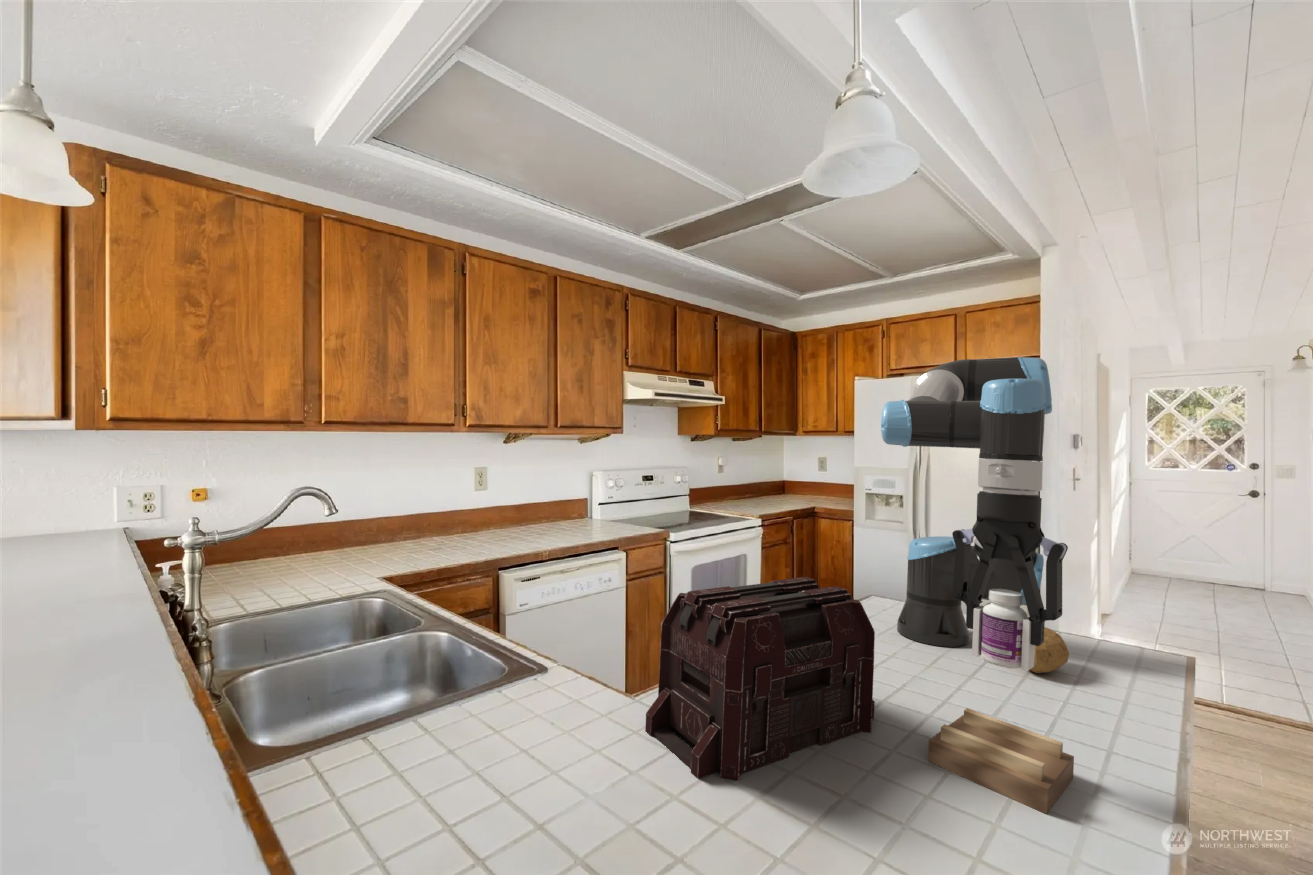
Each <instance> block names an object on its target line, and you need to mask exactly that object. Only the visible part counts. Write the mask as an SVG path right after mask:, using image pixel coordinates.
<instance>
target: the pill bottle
mask: <svg viewBox="0 0 1313 875" xmlns="http://www.w3.org/2000/svg"><path fill="white" fill-rule="evenodd" d="M988 598H989V600H988V601H990V602H988V603H986V604H984V605H983V606H984V607H983V611H982V638H981V655H980V656H981V658H982V659H983V660H984V661H985V662H987V663H988V664H992V665H994V666H998V667H1001V668H1006V669H1014V670H1015V669H1021V660H1022V633H1023V620H1024V619H1026V618H1028V617H1029V616H1028V613H1027V612H1026V610H1024V609H1023V608H1022V607H1021V606H1023V605H1022V603H1023V595H1022V594H1021V593H1018V592H1015V591H1011V590H1006V589H989V596H988Z"/></svg>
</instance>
